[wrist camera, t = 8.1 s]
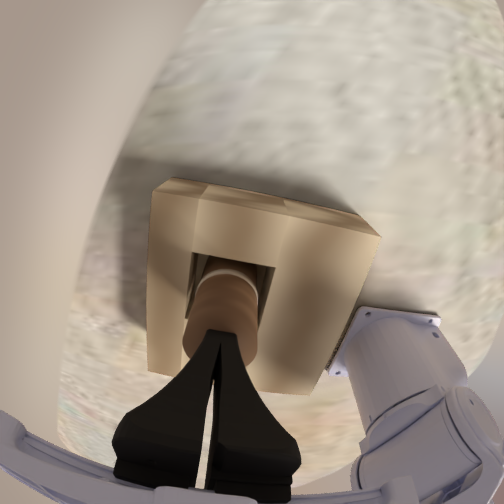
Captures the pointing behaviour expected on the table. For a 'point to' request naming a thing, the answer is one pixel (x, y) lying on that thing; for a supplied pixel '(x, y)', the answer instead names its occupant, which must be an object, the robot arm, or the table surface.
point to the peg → (225, 305)
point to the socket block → (268, 275)
